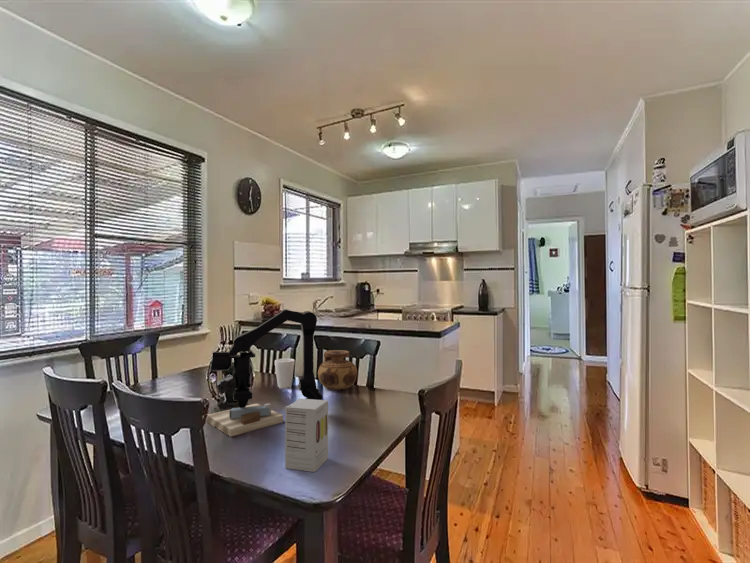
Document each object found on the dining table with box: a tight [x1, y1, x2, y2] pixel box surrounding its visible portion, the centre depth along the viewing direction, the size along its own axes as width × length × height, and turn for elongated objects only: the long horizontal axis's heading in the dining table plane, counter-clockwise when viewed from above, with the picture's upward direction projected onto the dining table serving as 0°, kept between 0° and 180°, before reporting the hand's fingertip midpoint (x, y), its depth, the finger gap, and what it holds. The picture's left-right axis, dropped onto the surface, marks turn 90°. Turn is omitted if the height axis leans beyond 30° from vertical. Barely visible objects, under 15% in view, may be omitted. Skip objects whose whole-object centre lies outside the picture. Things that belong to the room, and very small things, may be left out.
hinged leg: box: [229, 402, 272, 419], centre depth 144 cm, size 14×3×4 cm, turn 106°
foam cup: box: [274, 358, 295, 389], centre depth 195 cm, size 10×9×13 cm
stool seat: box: [206, 402, 284, 437], centre depth 146 cm, size 20×20×2 cm
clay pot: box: [317, 349, 358, 391], centre depth 192 cm, size 19×19×20 cm
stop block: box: [241, 411, 260, 425], centre depth 138 cm, size 2×6×3 cm, turn 134°
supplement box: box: [284, 398, 329, 473], centre depth 112 cm, size 10×9×17 cm
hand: (241, 411), depth 145 cm, fingers closed
